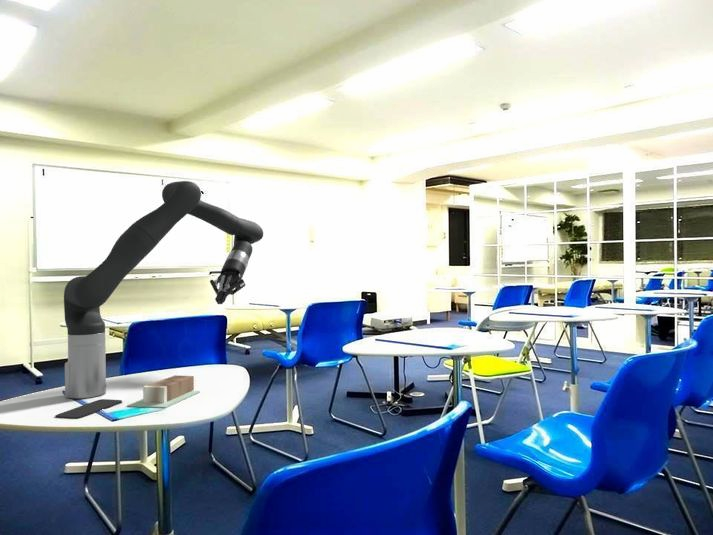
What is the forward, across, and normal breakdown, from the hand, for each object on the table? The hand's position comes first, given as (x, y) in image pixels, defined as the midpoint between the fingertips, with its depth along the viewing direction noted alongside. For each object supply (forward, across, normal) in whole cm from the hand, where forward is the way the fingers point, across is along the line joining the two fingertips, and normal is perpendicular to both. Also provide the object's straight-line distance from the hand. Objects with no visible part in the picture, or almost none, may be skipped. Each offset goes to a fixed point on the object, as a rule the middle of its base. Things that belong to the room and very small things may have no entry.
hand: (219, 302), depth 158 cm
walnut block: (+30, 0, 0) cm, 30 cm away
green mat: (+38, 0, -4) cm, 38 cm away
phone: (+47, -13, -12) cm, 50 cm away
